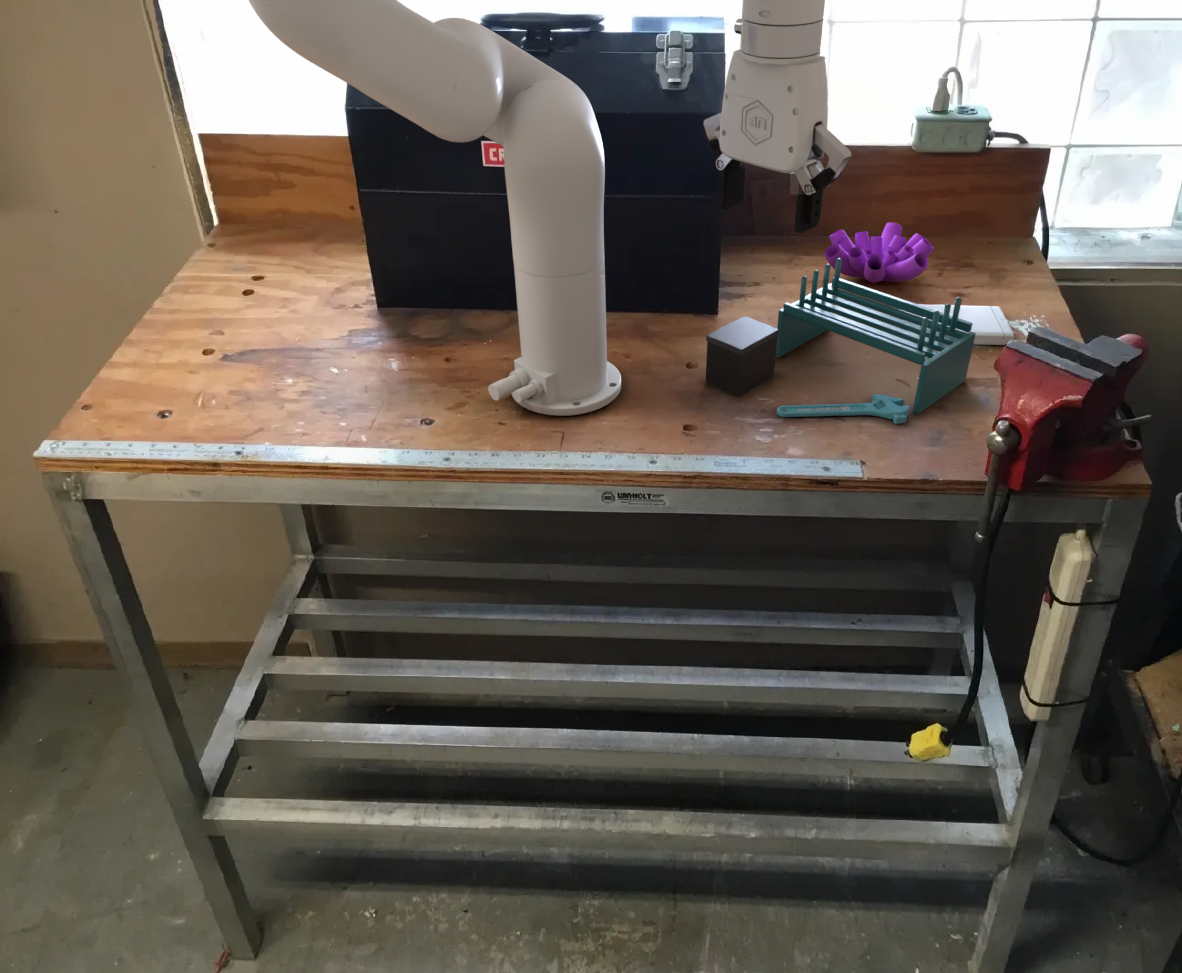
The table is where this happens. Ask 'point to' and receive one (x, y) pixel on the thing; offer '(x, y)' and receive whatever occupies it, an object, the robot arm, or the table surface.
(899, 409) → the adjustable wrench
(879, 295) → the rack
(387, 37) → the robot arm
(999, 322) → the hard drive
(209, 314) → the table surface
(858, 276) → the purple tubular cluster
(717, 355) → the black box
